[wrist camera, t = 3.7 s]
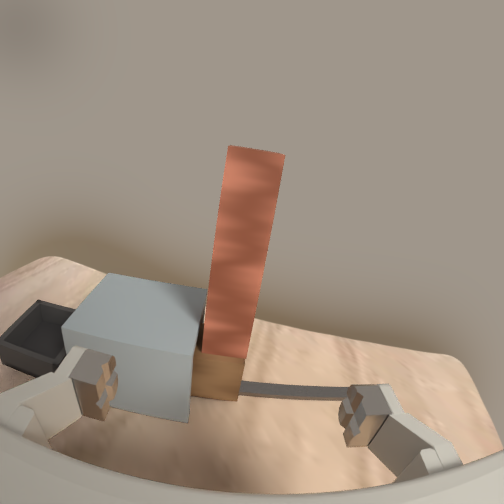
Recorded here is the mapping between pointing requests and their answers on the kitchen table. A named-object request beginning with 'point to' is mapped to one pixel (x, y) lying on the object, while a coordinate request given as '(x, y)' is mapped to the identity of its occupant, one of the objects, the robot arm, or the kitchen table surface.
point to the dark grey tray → (36, 339)
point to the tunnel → (143, 340)
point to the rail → (292, 391)
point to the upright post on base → (236, 270)
